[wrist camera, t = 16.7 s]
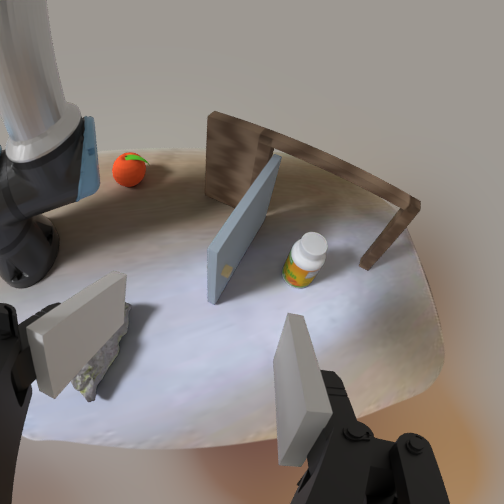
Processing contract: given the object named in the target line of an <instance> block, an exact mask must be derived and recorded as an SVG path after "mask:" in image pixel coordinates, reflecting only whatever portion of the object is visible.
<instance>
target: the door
mask: <svg viewBox="0 0 504 504" xmlns="http://www.w3.org/2000/svg"><path fill="white" fill-rule="evenodd" d="M281 158H282V157H281V156H279V155H276V154H274V155H273V156H272V158H271V159H270V160H269V162H268V163H267V165H266V166H265V167H264V169H263V170H262V171H261V173H260V174H259V176H258V177H257V178H256V180H255V181H254V183H253V184H252V185H251V187H250V188H249V190H248V191H247V192H246V194H245V195H244V197H243V198H242V199H241V201H240V202H239V204H238V205H237V206H236V208H235V209H234V211H233V212H232V214H231V215H230V216H229V218H228V219H227V221H226V222H225V224H224V225H223V227H222V228H221V229H220V231H219V232H218V234H217V235H216V237H215V238H214V240H213V241H212V243H211V244H210V246H209V247H208V249H207V288H208V302H210V303H212V304H214V305H215V303H216V302H217V300H218V298H219V297H220V295H221V293H222V291H223V290H224V288H225V286H226V285H227V283H228V281H229V280H230V278H231V276H232V274H233V273H234V271H235V269H236V268H237V266H238V264H239V262H240V261H241V259H242V257H243V256H244V254H245V252H246V251H247V249H248V247H249V245H250V244H251V242H252V240H253V239H254V237H255V235H256V234H257V232H258V230H259V228H260V227H261V225H262V223H263V222H264V220H265V217H266V213H267V210H268V206H269V202H270V199H271V195H272V191H273V188H274V184H275V180H276V177H277V173H278V169H279V166H280V162H281Z"/></svg>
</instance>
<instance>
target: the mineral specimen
mask: <svg viewBox="0 0 504 504" xmlns="http://www.w3.org/2000/svg"><path fill="white" fill-rule="evenodd" d="M130 309H131V305H130V304H129V303H126V302H125V308H124V324H123V325H122V326H121V327H120V328H119V329H118V330H117V331H116V332H115V333H114V334H113V335H112V337H111V338H110V339H109V340H108V341H107V342H106V343H105V344H104V345H103V346H102V347H101V348H100V349H99V350H98V352H97V353H96V354H95V355H94V356H93V357H92V358H91V359H90V360H89V361H88V362H87V364H86V365H85V366H84V367H83V368H82V369H81V370H80V371H79V372H78V374H77V375H76V376H75V377H74V378H73V379H72V380H71V383H72V384H73V386H74V388H75V389H76V390H77V391H80V393H81V394H82V395H83V396H84V397H85V399H86V400H87V401H88V402H91V401H94V400H95V397H96V389H97V385H98V384H99V382H100V381H101V380H102V379H103V376H104V375H105V373H106V371H107V369H108V368H109V366H110V365H111V364H112V362H113V361H114V359H115V357H117V355H118V352H119V351H120V350H119V341H120V340H121V337H122V336H124V334H127V327H128V326H129V325H128V323H129V319H128V316H129V311H130Z"/></svg>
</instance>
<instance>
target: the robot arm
mask: <svg viewBox="0 0 504 504" xmlns="http://www.w3.org/2000/svg"><path fill="white" fill-rule="evenodd" d="M0 115H1V118H2V120H3V122H4V124H5V126H6V129H7V131H8V133H9V138H8V140H7V144H6V149H5V150H2V148H1V145H0V276H1V277H2V279H3V280H4V281H6V282H7V283H8V284H9V285H10V286H12V287H15V288H25V287H29V286H31V285H33V284H35V283H36V282H38V281H39V280H40V279H41V278H43V277H44V276H45V274H46V273H47V272H48V271H49V269H50V268H51V266H52V265H53V263H54V261H55V259H56V256H57V253H58V248H59V236H58V233H57V230H56V229H55V227H54V225H53V224H52V222H51V221H50V220H49V219H48V218H47V217H45V216H44V215H42V213H45V212H47V211H50V210H53V209H56V208H59V207H62V206H65V205H68V204H71V203H74V202H78V201H79V200H80V199H83V198H85V197H88V196H90V195H92V194H94V193H95V192H96V191H97V190H98V188H99V186H100V174H99V164H98V154H97V144H96V133H95V123H94V118H93V117H91V116H89V117H87V116H85V117H83V118H82V117H81V113H80V110H79V108H78V107H77V106H76V105H75V104H73V103H69V102H66V101H65V97H64V94H63V89H62V85H61V81H60V77H59V73H58V68H57V63H56V59H55V54H54V49H53V43H52V37H51V31H50V24H49V17H48V9H47V0H0ZM126 278H127V275H126V274H123V273H119V272H116V271H112V272H111V273H109V274H108V275H106V276H104V277H103V278H101V279H99V280H98V281H96V282H95V283H93V284H91V285H90V286H88V287H87V288H85V289H83V290H82V291H80V292H79V293H77V294H75V295H74V296H72V297H71V298H69V299H68V300H66V301H65V302H63V303H55V304H52V305H48V306H47V307H45V308H44V309H42V310H41V312H40V311H39V312H37V313H36V314H35V315H33V316H31V317H30V318H28V319H27V320H25V321H23V322H22V323H20V324H19V325H18V321H17V314H16V310H15V308H14V307H13V306H12V305H9V304H6V303H0V504H11V503H12V491H13V482H14V474H15V467H16V461H17V455H18V450H19V445H20V440H21V435H22V431H23V426H24V422H25V418H26V414H27V411H28V407H29V403H30V400H31V396H32V387H31V383H32V382H33V381H34V380H35V379H36V380H37V384H38V387H39V391H41V392H43V393H45V394H46V395H48V396H50V397H52V398H54V399H55V398H56V397H57V396H58V395H59V394H60V393H61V392H62V390H63V389H64V388H65V387H66V386H67V385H68V384H69V382H70V381H71V380H72V379H73V378H74V377H75V376H76V375H77V374H78V372H79V371H80V370H81V369H82V368H83V367H84V366H85V365H86V364H87V362H88V361H89V360H90V359H91V358H92V357H93V356H94V355H95V354H96V353H97V352H98V350H99V349H100V348H101V347H102V346H103V345H104V344H105V343H106V342H107V341H108V340H109V339H110V338H111V337H112V335H113V334H114V333H115V332H116V331H117V330H118V329H119V328H120V327H121V326H122V325H123V324H124V308H125V291H126ZM273 367H274V383H275V401H276V419H277V438H278V459H279V465H283V466H298V467H301V466H302V465H303V463H304V461H305V460H306V458H307V460H308V467H309V468H308V470H307V471H306V472H305V474H304V475H303V477H302V478H301V480H300V481H299V482H298V483H297V485H298V486H299V487H298V489H297V491H296V493H295V495H294V497H293V499H292V501H291V503H290V504H450V502H449V499H448V495H447V492H446V489H445V486H444V482H443V480H442V476H441V473H440V470H439V468H438V465H437V462H436V459H435V456H434V453H433V451H432V448H431V445H430V444H429V442H428V441H427V440H426V439H425V438H424V437H422V436H420V435H418V434H414V433H404V434H403V435H401V436H400V437H399V438H398V439H397V441H396V442H391V441H386V440H382V439H377V438H375V437H374V434H373V432H372V431H371V429H370V428H369V427H368V426H366V425H365V424H363V423H361V422H359V421H357V419H356V417H355V414H354V411H353V408H352V406H351V403H350V400H349V398H348V397H347V396H348V395H347V393H346V390H345V387H344V385H343V382H342V380H341V379H340V378H339V376H338V375H337V374H336V373H335V372H333V371H325V370H320V368H319V365H318V361H317V358H316V355H315V352H314V348H313V345H312V342H311V339H310V335H309V332H308V329H307V326H306V323H305V320H304V316H301V315H296V314H291V313H288V314H287V317H286V320H285V324H284V327H283V330H282V334H281V337H280V340H279V344H278V347H277V350H276V353H275V356H274V359H273Z"/></svg>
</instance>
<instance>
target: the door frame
mask: <svg viewBox="0 0 504 504" xmlns="http://www.w3.org/2000/svg"><path fill="white" fill-rule="evenodd" d="M206 145H207V146H206V176H205V195H206V196H209V197H211V198H213V199H215V200H218V201H220V202H222V203H225V204H227V205H229V206H231V207H234V208H236V206H237V205H238V204H239V202H240V201H241V199H242V198H243V197H244V195H245V194H246V192H247V191H248V190H249V188H250V187H251V185H252V184H253V183H254V181H255V180H256V178H257V177H258V176H259V174H260V173H261V171H262V170H263V169H264V167H265V166H266V165H267V163H268V162H269V160H270V159H271V158H272V155H273V151H274V148H275V149H278V150H280V151H282V152H285V153H287V154H290V155H292V156H294V157H297V158H299V159H302V160H304V161H306V162H308V163H311V164H313V165H315V166H318V167H320V168H322V169H324V170H326V171H329V172H331V173H333V174H335V175H337V176H339V177H341V178H343V179H345V180H348V181H350V182H352V183H354V184H356V185H358V186H360V187H362V188H364V189H366V190H368V191H370V192H372V193H374V194H375V195H377V196H379V197H381V198H383V199H385V200H387V201H389V202H391V203H392V204H394V205H396V206H398V207H400V209H399V211H398V212H397V213H396V214H395V216H394V217H393V218H392V220H391V221H390V222H389V224H388V225H387V226H386V228H385V229H384V230H383V231H382V233H381V234H380V235H379V236H378V238H377V239H376V240H375V241H374V243H373V244H372V245H371V246H370V248H369V249H368V250H367V251H366V253H365V254H364V255H363V256H362V257H361V260H360V264H359V267H361V268H363V269H365V270H367V271H368V270H369V269H370V268H371V267H372V266H373V265H374V264H375V262H376V261H377V260H378V259H379V258H380V257H381V256H382V255H383V254H384V252H385V251H386V250H387V249H388V248H389V247H390V246H391V245H392V243H393V242H394V241H395V240H396V239H397V238H398V236H399V235H400V234H401V233H402V232H403V231H404V229H405V228H406V227H407V226H408V225H409V223H410V222H411V221H412V220H413V219H414V217H415V216H416V215H417V213H418V212H419V211H420V208H421V206H420V205H421V203H420V202H421V201H419V200H417V199H416V198H414V197H412V196H411V195H409V194H407V193H405V192H404V191H401V190H400V189H398V188H396V187H395V186H393V185H391V184H389V183H387V182H385V181H383V180H381V179H380V178H378V177H376V176H374V175H372V174H370V173H368V172H366V171H364V170H362V169H360V168H358V167H356V166H354V165H352V164H350V163H347V162H345V161H343V160H341V159H339V158H337V157H335V156H332V155H330V154H328V153H326V152H323V151H321V150H319V149H317V148H314V147H312V146H310V145H307V144H305V143H302V142H300V141H298V140H295V139H293V138H290V137H288V136H285V135H283V134H280V133H277V132H275V131H272V130H270V129H267V128H264V127H261V126H258V125H256V124H253V123H250V122H247V121H244V120H241V119H238V118H235V117H232V116H229V115H226V114H223V113H220V112H217V111H214V112H212V113H211V114H210V115H209V116H208V120H207V143H206Z"/></svg>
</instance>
